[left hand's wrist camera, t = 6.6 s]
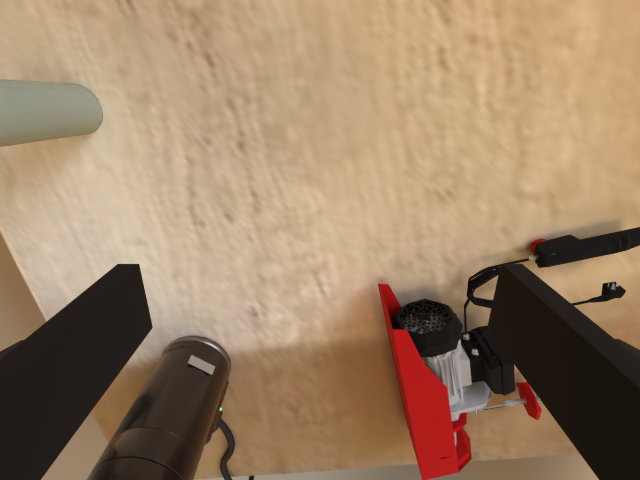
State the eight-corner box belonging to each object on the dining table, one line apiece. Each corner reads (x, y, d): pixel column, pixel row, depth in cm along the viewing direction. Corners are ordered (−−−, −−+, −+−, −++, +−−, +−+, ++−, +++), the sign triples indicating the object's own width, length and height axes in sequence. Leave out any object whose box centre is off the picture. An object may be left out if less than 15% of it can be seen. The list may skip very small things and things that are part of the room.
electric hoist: (716, 258, 32) (391, 325, 34) (668, 445, 43) (423, 485, 45) (626, 218, 41) (375, 273, 44) (605, 380, 52) (405, 417, 54)
